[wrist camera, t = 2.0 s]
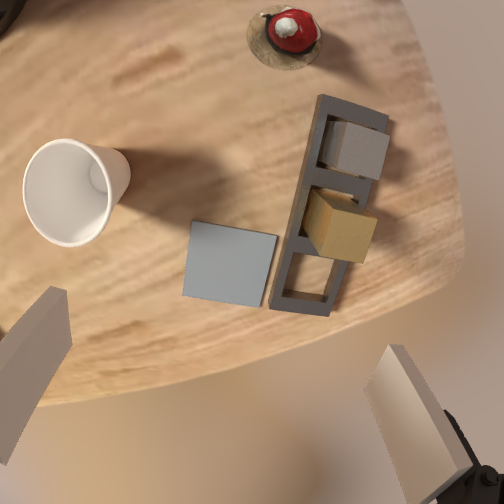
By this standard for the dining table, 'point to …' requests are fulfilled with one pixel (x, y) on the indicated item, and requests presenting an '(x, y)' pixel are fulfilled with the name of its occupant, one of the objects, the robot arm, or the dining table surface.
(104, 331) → the dining table surface
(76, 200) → the cup
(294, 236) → the grey block holder tray
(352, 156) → the block
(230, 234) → the mat
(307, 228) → the block
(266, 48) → the figurine
